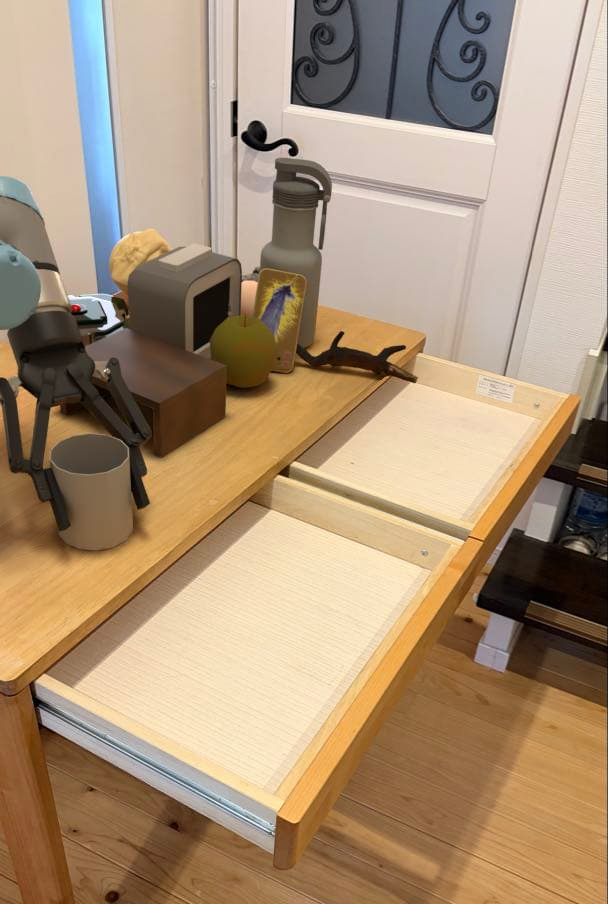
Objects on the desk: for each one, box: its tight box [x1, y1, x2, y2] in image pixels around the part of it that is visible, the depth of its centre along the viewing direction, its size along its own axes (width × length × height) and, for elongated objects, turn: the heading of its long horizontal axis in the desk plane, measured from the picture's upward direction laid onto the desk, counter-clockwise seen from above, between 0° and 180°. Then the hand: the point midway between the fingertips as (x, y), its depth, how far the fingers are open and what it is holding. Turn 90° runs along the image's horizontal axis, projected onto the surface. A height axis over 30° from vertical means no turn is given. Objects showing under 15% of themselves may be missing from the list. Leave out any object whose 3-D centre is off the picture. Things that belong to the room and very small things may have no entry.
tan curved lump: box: [108, 228, 173, 297], centre depth 143 cm, size 11×12×11 cm
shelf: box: [59, 328, 227, 458], centre depth 112 cm, size 14×18×8 cm
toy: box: [295, 330, 419, 384], centre depth 129 cm, size 23×7×5 cm
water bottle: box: [259, 157, 333, 349], centre depth 129 cm, size 10×10×28 cm
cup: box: [48, 432, 134, 551], centre depth 91 cm, size 8×8×10 cm
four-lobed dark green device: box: [68, 293, 130, 346], centre depth 133 cm, size 18×18×5 cm
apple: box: [210, 314, 278, 389], centre depth 121 cm, size 10×10×11 cm
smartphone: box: [253, 268, 306, 374], centre depth 127 cm, size 8×15×1 cm
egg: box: [240, 281, 258, 317], centre depth 141 cm, size 7×7×8 cm
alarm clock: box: [127, 242, 243, 359], centre depth 127 cm, size 16×11×16 cm
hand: (105, 517), depth 90 cm, fingers closed on cup, 8 cm apart
